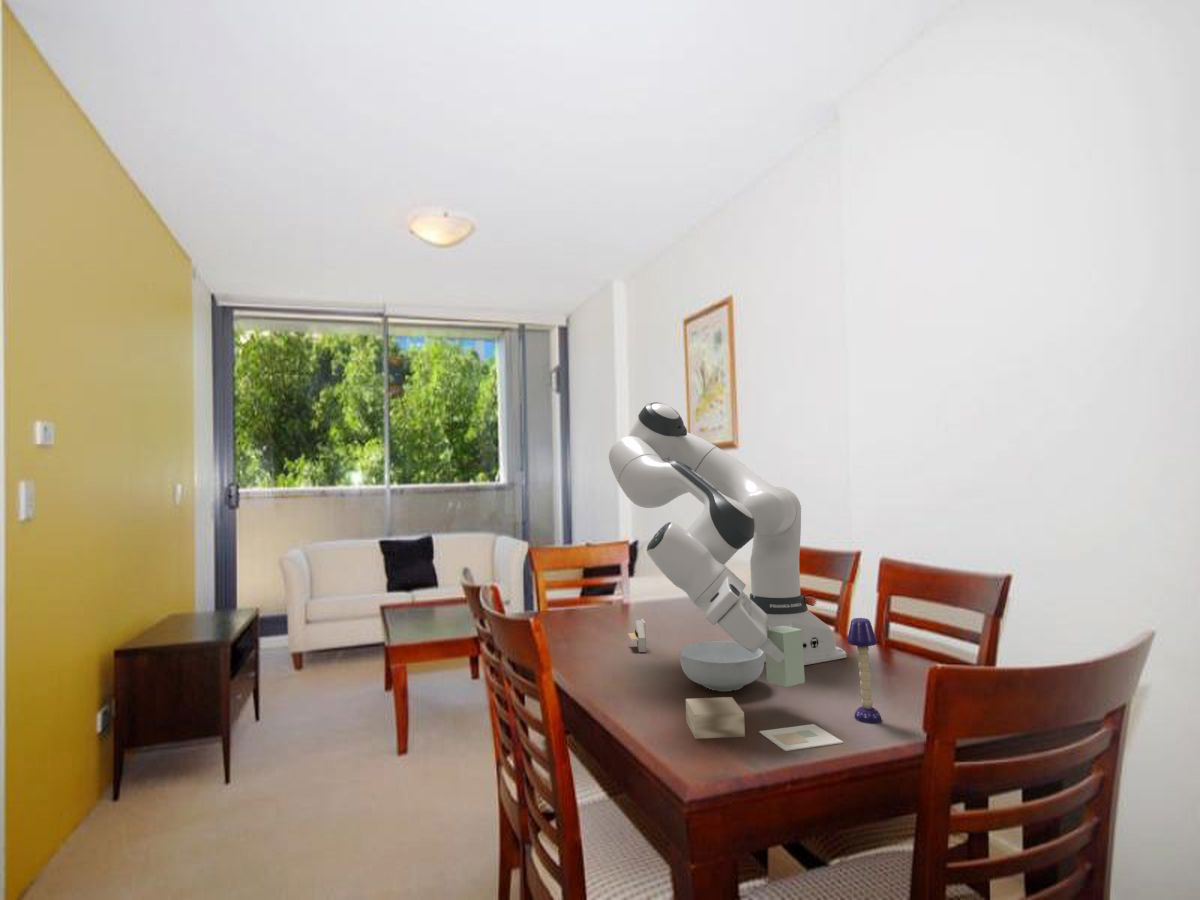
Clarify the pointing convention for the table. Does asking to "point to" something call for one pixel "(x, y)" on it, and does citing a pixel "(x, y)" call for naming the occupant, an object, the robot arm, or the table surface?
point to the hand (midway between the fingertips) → (781, 653)
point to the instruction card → (800, 737)
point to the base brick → (715, 717)
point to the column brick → (786, 657)
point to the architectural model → (640, 635)
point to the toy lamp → (864, 667)
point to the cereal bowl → (721, 664)
